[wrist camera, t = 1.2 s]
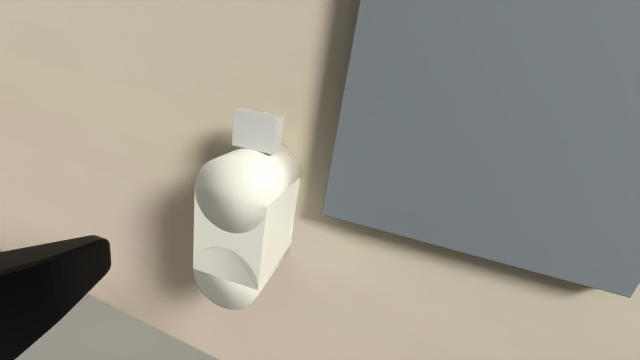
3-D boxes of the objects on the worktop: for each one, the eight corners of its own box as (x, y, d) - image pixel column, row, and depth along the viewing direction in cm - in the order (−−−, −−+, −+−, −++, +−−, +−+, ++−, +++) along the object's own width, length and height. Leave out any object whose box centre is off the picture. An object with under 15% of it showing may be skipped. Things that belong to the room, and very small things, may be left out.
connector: (287, 268, 22) (254, 318, 17) (236, 252, 23) (192, 296, 18) (309, 115, 18) (275, 127, 13) (247, 102, 19) (195, 109, 14)
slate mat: (615, 283, 16) (629, 297, 15) (326, 206, 20) (321, 214, 18) (839, -87, 11) (887, -106, 10) (385, -110, 14) (382, -126, 13)
